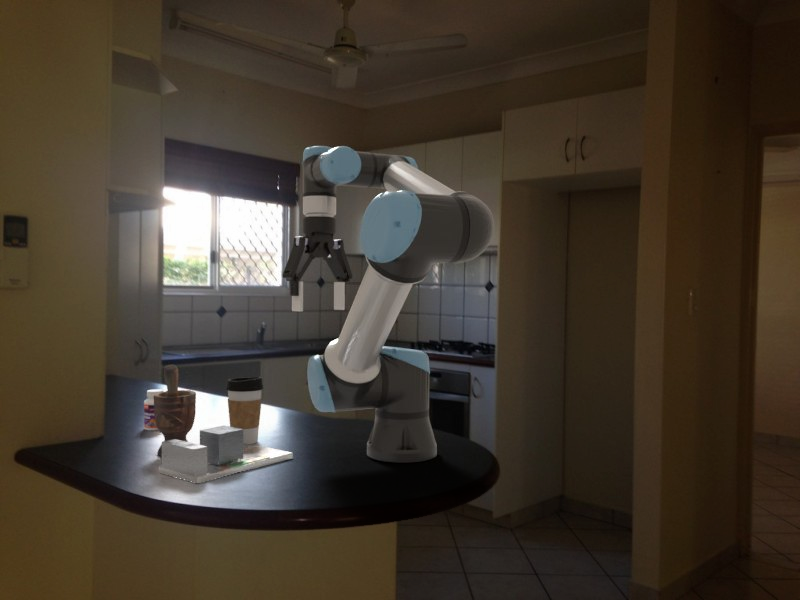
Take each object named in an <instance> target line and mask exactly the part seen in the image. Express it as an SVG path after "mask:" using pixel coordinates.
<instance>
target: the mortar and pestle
mask: <svg viewBox="0 0 800 600" xmlns="http://www.w3.org/2000/svg"><path fill="white" fill-rule="evenodd" d="M163 377H164V381H165V385H166V388H167V390H164V392H160V393H156V394H154V416H155V422H156V425H157V429H158V430H157V431H158V432H159V433H161V434H162V436H163V437H164V440H163V441H168V440H173V439H177V440H181V441H185V442H189V440H187V435H188V433H189V432H190V431H191V430H192V429H193V426H194V423H195V418H196V407H197V406H196V403H197V402H196V399H197V398H196V397H197V393H196V391H193V390H190V389H189V390H187V389H186V390H185V389H181V390H179V389H178V387H179V369H178V367H177V366H176V364H167V365H165V367H164V370H163ZM157 455H158V456H161V457H162V443H161V444H160V446H159V447H158V450H157Z"/></svg>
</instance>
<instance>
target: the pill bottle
mask: <svg viewBox="0 0 800 600" xmlns="http://www.w3.org/2000/svg"><path fill="white" fill-rule="evenodd" d="M160 392H165V390H164V389H160V388H159V389H158V388H157V389H156V388H155V389H154V388H153V389H148V390H146V397H147V398H146V399H144V401H143V429H144V430H145V431H150V432H151V431H153V432H155V431H159V430H158V429H157V425H156V422H155V416H154V394H156V393H160Z"/></svg>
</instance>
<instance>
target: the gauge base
mask: <svg viewBox="0 0 800 600" xmlns="http://www.w3.org/2000/svg"><path fill="white" fill-rule="evenodd" d="M161 444H162V456H161V465H160V466H158V474H160V473H161V474H162V475H164V474H165V475H164V476H167V475H169V476H168V477H171V476H173V477H172V478H174V477H177V478H176V479H178V478H181V479H185V480H188V481H192V482H195V483H199V484H201V483H200V482H203V483H205V482H204V481H207V482H209V481H208V480H210V481H213V480H212V479H214V480H216V479H215V478H218V479H220V478H219V477H222V478H224V477H223V476H225V477H228V476H227V475H229V476H231V475H230V474H233V475H235V474H234V473H236V474H238V473H237V472H240V473H242V472H241V471H244V472H247V471H246V470H248V471H251V470H255V469H258V468H262V467H265V466H269V465H273V464H277V463H281V462H284V461H287V460H291V459H293V456H294V455H293V452H291V451H286V450H281V449H278V448H277V449H276V448H274V447H273V448H272V447H267V446H263V445H258V444H256V443H254V444H249V445H246V446H243V459H242V460H240V462H235V461H234V462H230V463H226V464H222V465H216V464H213V463H209V462H207V446H203V445H200V444H198V443H193V442H189V441H188V442H185V441H181V440H177V439H173V440H168V441H164V440H163V441H161ZM250 469H251V470H250ZM181 479H180V480H181ZM185 480H184V481H185ZM188 481H187V482H188ZM192 482H191V483H192ZM195 483H194V484H195Z"/></svg>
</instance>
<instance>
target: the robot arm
mask: <svg viewBox="0 0 800 600" xmlns="http://www.w3.org/2000/svg"><path fill="white" fill-rule="evenodd" d="M301 166H302V214H303V215H304V217H303V218H302V233H303V234H304V235H303V236H302V235H298V236H294V237H293V244H292V248H291V252H290V253H289V257H288V259H287V263H286V265H285V267H284V270H283V272H282V278H283V279H286V281H287V282H290V283H289V284H290V285H289V289H290V290H289V293H290V294H289V295H290V296H291V311H292V312H304V281H301V280H302V278H303V276H304V275H305V273H306V271H307V270H308V268H309V267H310V265H311V263H312V262H313V260H315V259H317V258H318V259H323V260H324V261H325V262H326V264H327V266H328V268H329V270H330V271H331V273H332V275H333V276H334V279H335V280H336V281H333V310H335V311H344V310H345V309H346V307H345V304H346V303H345V302H346V301H345V299H346V298H345V296H346V294H347V283H348V282H349V283H350V280H352V279H353V273H352V269H351V267H350V265H349V260H348V258H347V253H346V251H345V249H344V248H345V246H344V239H334V235H335V234H336V233H337V219H336V218H335V216H336V215H337V187H338V186H342V187H343V186H344V187H356V188H357V187H358V188H368V189H369V188H370V189H371V188H372V189H373V188H374V189H382V190H385V191H384V192H381V193H379V194H378V195H376V196H375V197H374V198H373V199H372V200H371V201H370V202H369V204H368V205H367V207H366V209H365V211H364V214H363V218H362V220H361V226H362V229H361V230H360V233H359V234H360V237H359V239H360V245H361V250H362V252H363V254H364V256H365V259H366V262H367V264H368V266H367V269H366V271H365V273H364V275H363V277H362V280H361V283H360V285H359V287H358V290H357V293H356V294H355V296H354V300H353V302H352V305H351V307H350V310H349V312H348V314H347V317H346V319H345V322H344V324H343V326H342V328H341V332H340V334H339V336H338V338H336V339H334V340H331V341H330V342H329V344H328V345H327V346H326V348H325V351H324V353H323V354H321V355H319V354H316V355H312V356H310V357H309V359H308V362H307V368H306V369H307V373H306V375H307V376H306V377H307V386H308V391H309V392H308V393H309V396H310V399H311V402H312V404H313V406H314V408H315V409H316V410H317V411H318V412H321V413H329V412H330V413H333V414H334V413H337V412H339V413H340V412H347V411H348V412H349V411H359V410H360V411H361V410H371V409H375V410H374V411H375V412H374V415H375V417H374V421H373V423H372V424H373V425H372V428H371V431H370V433H369V437H368V440H367V443H366V455H367V457H369V458H370V459H373V460H375V461H376V460H377V461H381V462H387V463H406V464H407V463H420V462H425V461H429V460H432V459H435V458H436V457H437V455H438V453H437V451H438V449H437V448H438V447H437V442H436V439H435V434H434V431H433V428H432V424H431V421H430V374H431V369H430V358H429V356H428V354H427V353H426V352H424V351H422V350H417V349H410V348H403V347H397V346H386V345H385V343H386V341H387V339H388V337H389V335H390V332H391V331H392V328H393V327H394V325H395V323H396V320H397V318H398V316H399V314H400V312H401V311H402V308H403V307H404V305H405V302H406V300H407V298H408V295H409V294H410V291H411V289H412V287H413V285H415V284H419V283H421V282H422V281H424V280H425V278H426V277H427V276H428V275H429V272H430V270H431V268H432V266H433V264H462V263H467V262H470V261H472V260H474V259H476V258H478V257H479V256H480V255H482V254H483V253H484V252H485V251H486V249H487V248H488V247H489V246H490V245H491V242H492V241H493V237H494V233H495V220H494V215H493V213H492V211H491V209H490V208H489V206H488V205H487V204H486V203H484V202H483V200H481V199H480V198H479V197H477V196H475V195H473V194H471V193H469V192H467V191H463V190H462V191H461V190H459V191H455V190H454V189H452V188H450V187H448V186H447V185H445V184H443V183H442V182H440V181H438V180H436V179H435V178H433V177H431V176H430V175H428V174H426V173H425V172H424V171H422V170H420V169H419V168H418V164H417V161H416V160H415V158H413V157H410V156H405V155H401V154H387V153H373V152H368V151H357V150H355V149H353V148H351V147H349V146H346V145H341V146H335V147H330V146H326V145H314V146H308V147H306V148H305V149H304V151H303V155H302V162H301Z"/></svg>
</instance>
